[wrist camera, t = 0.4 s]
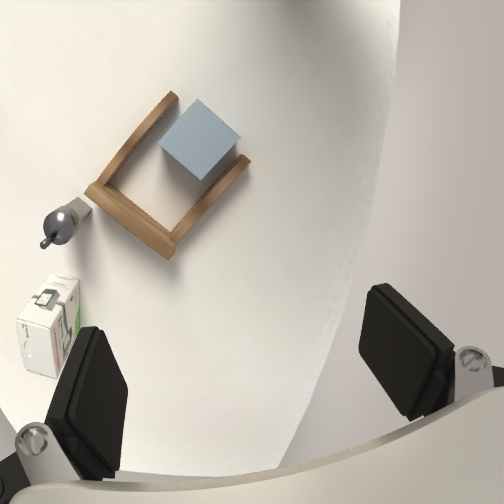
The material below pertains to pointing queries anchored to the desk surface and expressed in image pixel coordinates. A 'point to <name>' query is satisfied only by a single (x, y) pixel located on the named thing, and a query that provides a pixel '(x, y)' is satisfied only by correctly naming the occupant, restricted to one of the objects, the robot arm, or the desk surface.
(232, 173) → the bay
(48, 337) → the ink box
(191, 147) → the blue-grey cube
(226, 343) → the desk surface
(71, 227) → the winch post
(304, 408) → the desk surface
